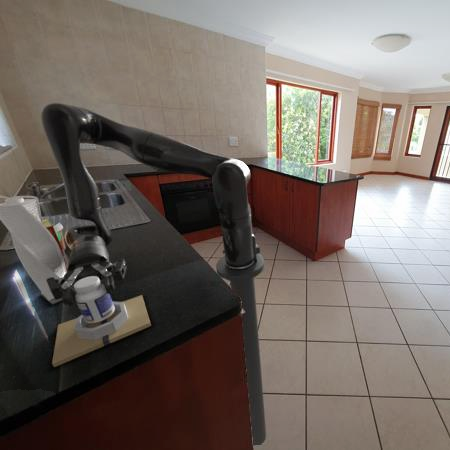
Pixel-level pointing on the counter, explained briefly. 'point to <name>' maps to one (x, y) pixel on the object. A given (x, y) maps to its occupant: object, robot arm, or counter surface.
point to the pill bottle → (93, 299)
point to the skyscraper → (33, 242)
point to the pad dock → (99, 330)
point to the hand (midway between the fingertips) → (89, 295)
